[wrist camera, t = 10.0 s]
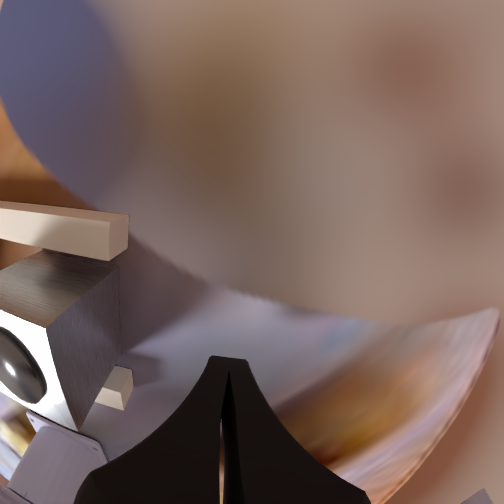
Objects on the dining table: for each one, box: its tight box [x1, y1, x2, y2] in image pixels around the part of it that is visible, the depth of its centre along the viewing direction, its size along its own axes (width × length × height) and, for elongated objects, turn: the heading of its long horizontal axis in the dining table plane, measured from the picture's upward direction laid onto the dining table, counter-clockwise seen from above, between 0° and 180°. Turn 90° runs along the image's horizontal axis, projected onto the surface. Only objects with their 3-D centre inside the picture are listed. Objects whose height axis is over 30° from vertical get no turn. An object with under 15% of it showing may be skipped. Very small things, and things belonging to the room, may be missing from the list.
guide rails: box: [0, 201, 134, 411], centre depth 11 cm, size 10×12×2 cm
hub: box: [0, 251, 122, 432], centre depth 9 cm, size 5×5×6 cm
